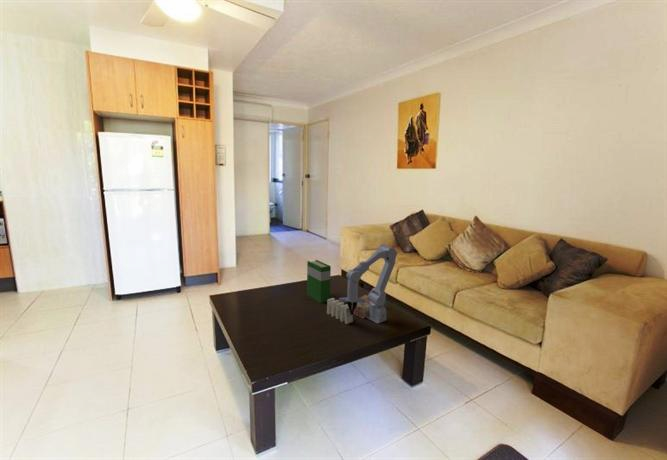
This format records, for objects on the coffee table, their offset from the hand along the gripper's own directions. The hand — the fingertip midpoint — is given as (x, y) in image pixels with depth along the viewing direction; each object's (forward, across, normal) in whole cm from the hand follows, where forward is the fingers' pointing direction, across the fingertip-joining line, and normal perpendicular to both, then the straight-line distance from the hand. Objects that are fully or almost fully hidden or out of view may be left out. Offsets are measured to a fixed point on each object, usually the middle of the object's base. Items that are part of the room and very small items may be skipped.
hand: (351, 314), depth 178 cm
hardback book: (+6, +23, -37) cm, 44 cm away
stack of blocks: (+3, -4, -24) cm, 24 cm away
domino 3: (+6, +7, -7) cm, 12 cm away
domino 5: (+6, +1, -2) cm, 6 cm away
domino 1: (+6, +12, -13) cm, 19 cm away
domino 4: (+6, +4, -4) cm, 8 cm away
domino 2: (+6, +10, -10) cm, 15 cm away
